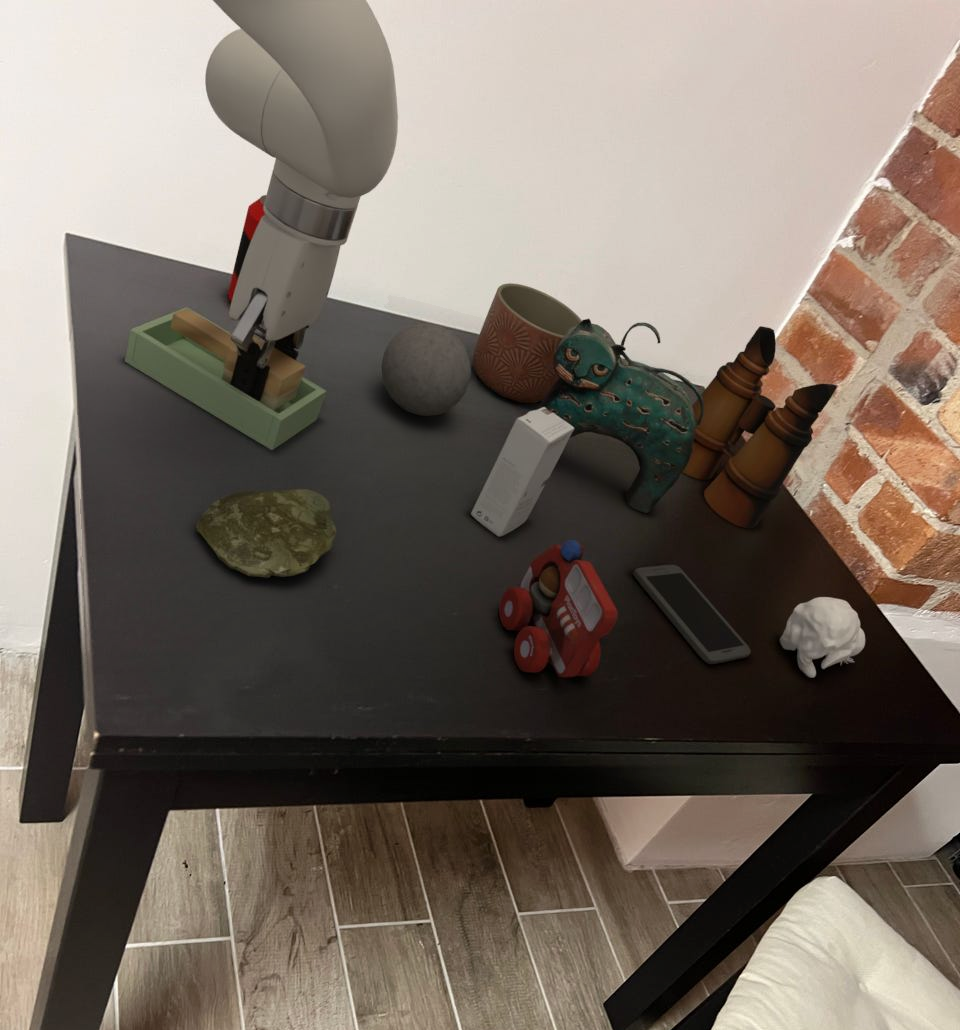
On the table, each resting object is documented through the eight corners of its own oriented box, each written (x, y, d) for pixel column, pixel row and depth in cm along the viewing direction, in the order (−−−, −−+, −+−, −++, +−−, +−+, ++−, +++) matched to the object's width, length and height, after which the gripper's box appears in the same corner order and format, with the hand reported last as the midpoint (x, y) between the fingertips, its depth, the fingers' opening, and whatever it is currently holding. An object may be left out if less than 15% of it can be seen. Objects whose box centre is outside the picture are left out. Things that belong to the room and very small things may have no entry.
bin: (124, 361, 89) (130, 328, 87) (180, 337, 96) (186, 306, 94) (271, 450, 88) (281, 420, 86) (316, 419, 95) (326, 390, 93)
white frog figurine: (812, 582, 95) (871, 588, 103) (760, 637, 100) (819, 640, 108) (850, 626, 92) (908, 629, 100) (794, 681, 97) (853, 680, 104)
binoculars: (769, 527, 122) (866, 402, 110) (731, 529, 117) (829, 398, 105) (688, 442, 131) (769, 318, 119) (649, 441, 126) (731, 310, 114)
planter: (473, 346, 124) (506, 272, 117) (554, 387, 126) (591, 316, 119) (455, 381, 115) (489, 303, 108) (542, 425, 116) (582, 350, 109)
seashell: (176, 514, 74) (267, 432, 74) (202, 532, 81) (285, 456, 82) (261, 605, 73) (352, 521, 74) (280, 615, 81) (363, 538, 81)
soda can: (276, 293, 112) (302, 197, 104) (300, 327, 108) (329, 231, 101) (217, 285, 107) (240, 185, 100) (241, 321, 103) (267, 219, 96)
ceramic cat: (503, 455, 106) (582, 299, 94) (510, 430, 111) (585, 279, 99) (653, 524, 109) (748, 382, 97) (652, 497, 114) (743, 359, 102)
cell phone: (673, 567, 104) (676, 563, 103) (750, 657, 97) (754, 652, 96) (629, 572, 99) (633, 567, 99) (707, 666, 92) (711, 661, 92)
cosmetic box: (500, 539, 94) (552, 444, 86) (466, 514, 94) (515, 417, 87) (527, 521, 98) (579, 428, 91) (495, 497, 99) (543, 403, 92)
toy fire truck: (549, 601, 89) (599, 521, 83) (591, 698, 82) (651, 618, 75) (487, 593, 86) (534, 509, 80) (525, 693, 78) (581, 609, 72)
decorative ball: (462, 438, 105) (497, 363, 99) (384, 427, 100) (416, 347, 94) (434, 389, 111) (465, 315, 105) (359, 376, 106) (387, 297, 99)
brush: (160, 343, 89) (166, 310, 87) (188, 331, 92) (194, 299, 90) (272, 411, 89) (282, 379, 86) (296, 396, 92) (306, 366, 90)
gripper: (320, 175, 86) (271, 345, 97) (218, 199, 72) (176, 393, 84) (387, 215, 86) (331, 381, 97) (298, 247, 72) (245, 435, 84)
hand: (259, 385), depth 90 cm, fingers closed on brush, 4 cm apart
